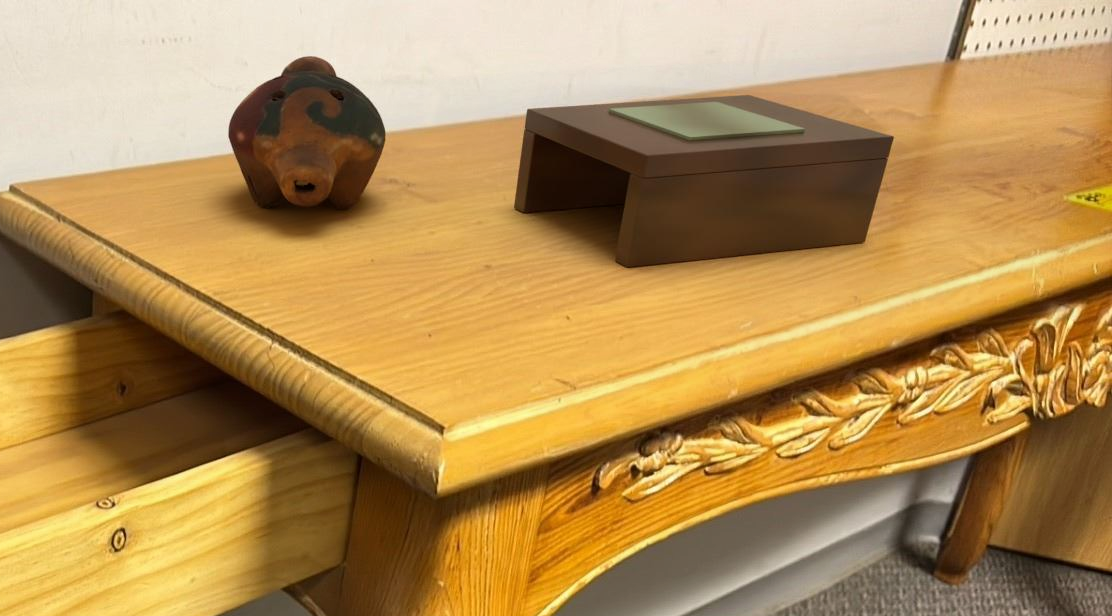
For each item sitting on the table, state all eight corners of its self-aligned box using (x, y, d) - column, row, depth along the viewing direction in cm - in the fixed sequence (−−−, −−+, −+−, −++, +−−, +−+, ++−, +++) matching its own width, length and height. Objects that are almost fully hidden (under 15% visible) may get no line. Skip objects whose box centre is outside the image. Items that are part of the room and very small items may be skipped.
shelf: (727, 188, 80) (749, 91, 77) (865, 242, 70) (896, 132, 67) (513, 207, 76) (526, 105, 73) (627, 267, 66) (648, 151, 63)
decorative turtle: (361, 169, 83) (377, 47, 79) (393, 252, 71) (414, 114, 66) (220, 161, 83) (228, 39, 79) (227, 244, 70) (237, 104, 66)
